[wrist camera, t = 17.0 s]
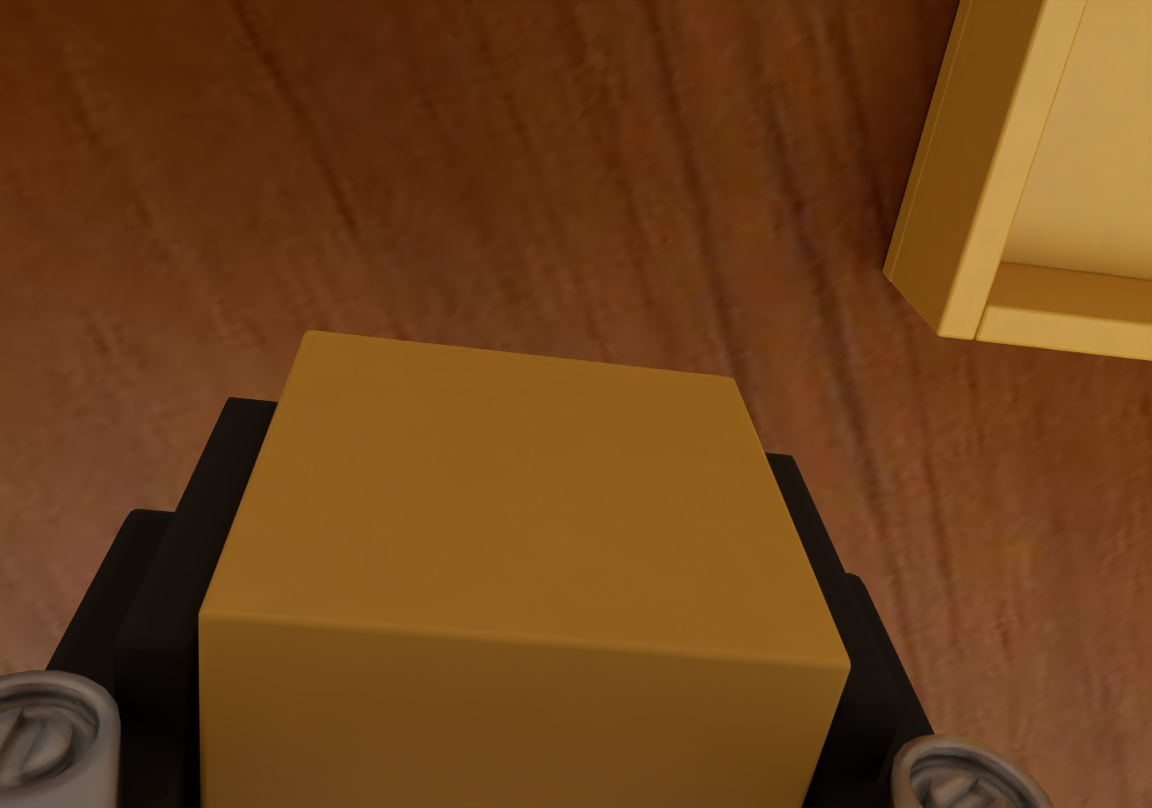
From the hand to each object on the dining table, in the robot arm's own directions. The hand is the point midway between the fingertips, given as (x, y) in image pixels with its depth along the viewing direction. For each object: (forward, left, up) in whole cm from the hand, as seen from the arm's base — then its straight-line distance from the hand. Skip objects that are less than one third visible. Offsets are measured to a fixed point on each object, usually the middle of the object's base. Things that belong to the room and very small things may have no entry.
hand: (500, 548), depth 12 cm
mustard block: (0, 0, 0) cm, 0 cm away
